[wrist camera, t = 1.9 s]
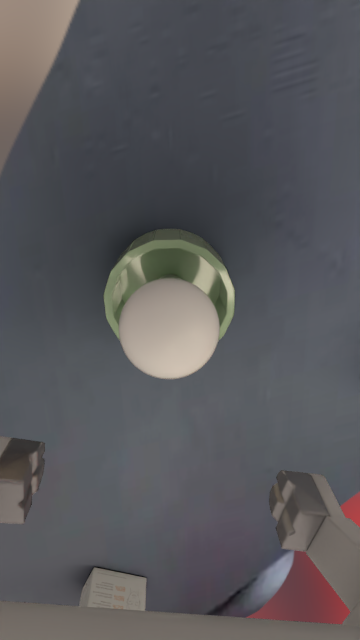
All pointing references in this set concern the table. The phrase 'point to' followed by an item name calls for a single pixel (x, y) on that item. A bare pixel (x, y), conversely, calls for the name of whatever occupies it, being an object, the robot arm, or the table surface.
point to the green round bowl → (169, 272)
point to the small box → (114, 590)
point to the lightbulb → (169, 328)
